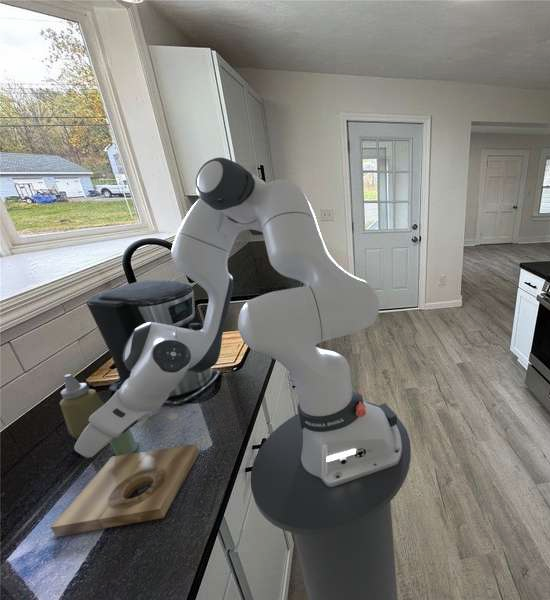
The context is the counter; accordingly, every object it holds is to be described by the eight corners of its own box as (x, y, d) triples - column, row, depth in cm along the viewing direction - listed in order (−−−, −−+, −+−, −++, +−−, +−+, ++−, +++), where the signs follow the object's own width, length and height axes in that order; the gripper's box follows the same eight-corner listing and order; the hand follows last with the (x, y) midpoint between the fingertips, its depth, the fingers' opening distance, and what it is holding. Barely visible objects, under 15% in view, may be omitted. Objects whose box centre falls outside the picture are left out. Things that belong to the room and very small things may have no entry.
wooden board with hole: (199, 452, 74) (196, 443, 74) (163, 518, 60) (159, 508, 59) (115, 464, 72) (111, 456, 71) (55, 537, 57) (50, 527, 56)
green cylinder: (141, 443, 78) (125, 405, 74) (131, 456, 74) (113, 417, 70) (123, 445, 77) (106, 407, 73) (111, 459, 73) (92, 420, 69)
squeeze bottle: (85, 427, 84) (57, 370, 78) (122, 420, 86) (97, 363, 80) (66, 450, 77) (33, 388, 70) (106, 441, 79) (78, 381, 73)
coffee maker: (207, 402, 92) (174, 294, 80) (77, 424, 85) (20, 309, 74) (228, 362, 113) (204, 272, 101) (125, 377, 106) (86, 283, 94)
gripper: (164, 364, 79) (141, 395, 83) (81, 421, 59) (56, 459, 64) (186, 379, 80) (162, 409, 84) (111, 440, 61) (84, 476, 65)
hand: (115, 431), depth 74 cm, fingers closed on green cylinder, 4 cm apart
